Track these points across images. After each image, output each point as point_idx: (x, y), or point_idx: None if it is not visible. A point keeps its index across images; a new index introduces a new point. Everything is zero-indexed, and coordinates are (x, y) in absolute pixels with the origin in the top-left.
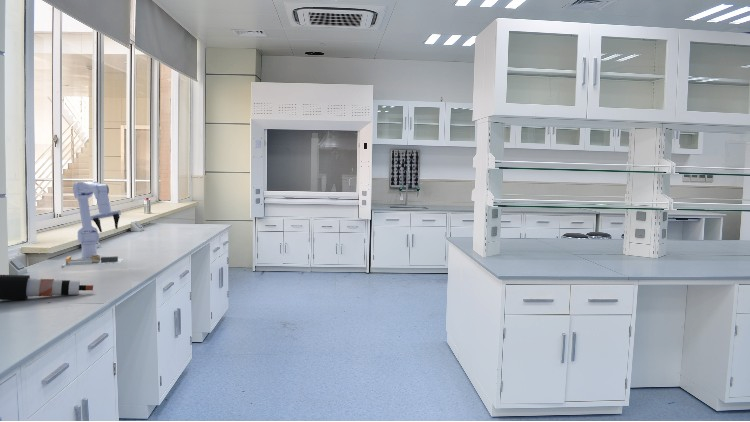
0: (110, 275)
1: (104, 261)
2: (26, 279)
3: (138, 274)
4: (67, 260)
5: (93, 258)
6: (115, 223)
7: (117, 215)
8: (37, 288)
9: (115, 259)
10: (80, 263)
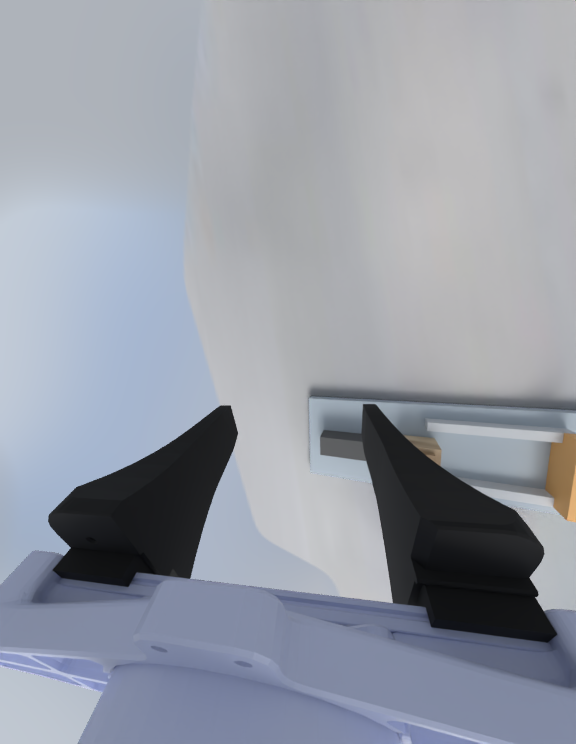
0: (312, 187)
1: None
2: None
3: (223, 200)
4: (573, 436)
5: (423, 443)
6: (198, 429)
7: (75, 491)
8: None
9: (328, 433)
10: (482, 423)
